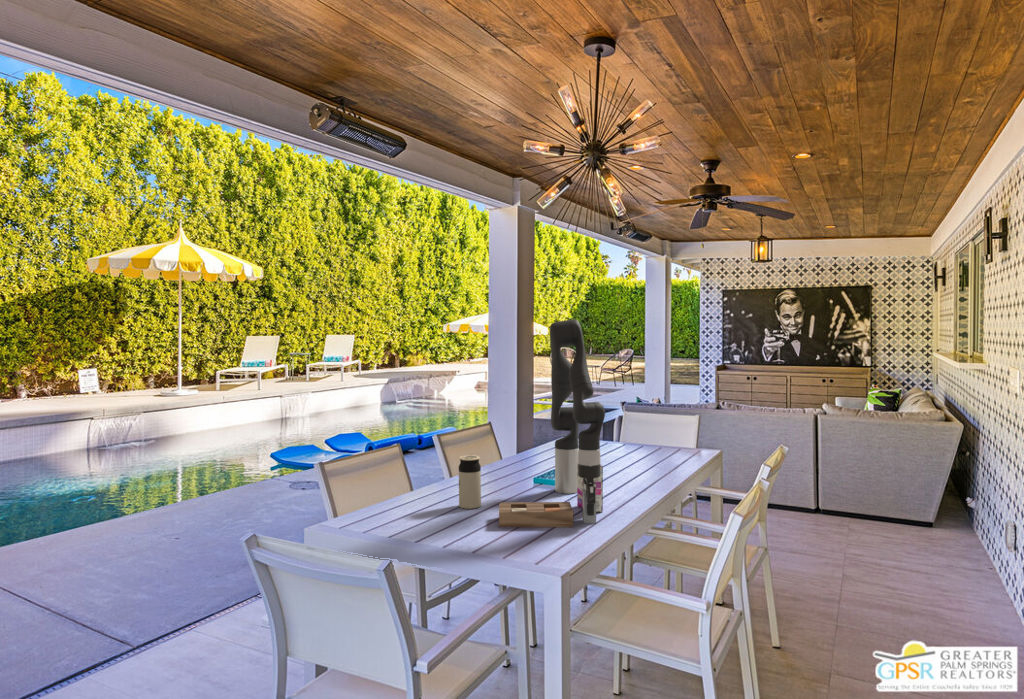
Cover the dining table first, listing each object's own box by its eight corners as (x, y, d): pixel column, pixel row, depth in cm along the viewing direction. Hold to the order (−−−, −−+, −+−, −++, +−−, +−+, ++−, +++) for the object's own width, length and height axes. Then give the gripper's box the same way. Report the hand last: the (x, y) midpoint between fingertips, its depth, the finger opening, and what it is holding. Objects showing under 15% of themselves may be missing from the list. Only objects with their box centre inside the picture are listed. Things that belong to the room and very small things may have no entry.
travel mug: (483, 504, 242) (483, 455, 241) (476, 510, 234) (476, 459, 234) (463, 502, 244) (462, 454, 243) (455, 508, 236) (455, 458, 236)
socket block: (499, 517, 225) (499, 501, 225) (569, 516, 225) (569, 500, 225) (499, 527, 213) (499, 511, 213) (573, 526, 213) (573, 510, 213)
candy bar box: (603, 512, 230) (603, 465, 229) (591, 513, 228) (590, 466, 228) (589, 504, 240) (588, 459, 240) (576, 505, 238) (576, 460, 238)
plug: (582, 519, 221) (582, 490, 221) (594, 519, 221) (594, 490, 221) (584, 523, 217) (583, 493, 217) (596, 523, 217) (596, 493, 217)
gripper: (575, 458, 226) (575, 507, 226) (580, 466, 211) (580, 519, 212) (597, 457, 226) (597, 506, 226) (603, 466, 211) (603, 518, 212)
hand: (589, 512), depth 219 cm, fingers open, 5 cm apart
